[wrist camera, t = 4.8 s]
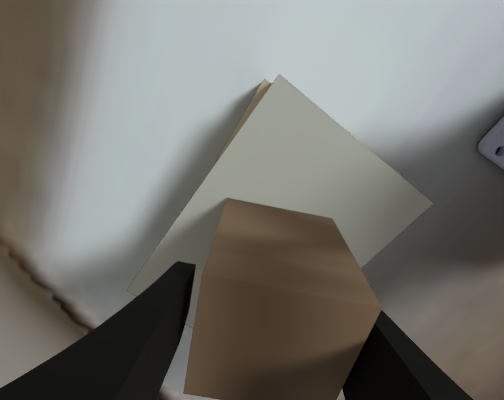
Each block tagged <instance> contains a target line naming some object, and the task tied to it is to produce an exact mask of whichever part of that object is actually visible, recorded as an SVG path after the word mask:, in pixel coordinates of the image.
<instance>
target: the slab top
mask: <svg viewBox="0 0 504 400" xmlns="http://www.w3.org/2000/svg"><path fill="white" fill-rule="evenodd" d="M227 198H231V199H237V200H242V201H247V202H252V203H257V204H262V205H267V206H272V207H277V208H282V209H287V210H292V211H297V212H302V213H308V214H313V215H318V216H323V217H328V218H332V219H333V220H334V222H335V224H336V226H337V228H338V229H339V231H340V233H341V235H342V236H343V238H344V240H345V242H346V244H347V245H348V247H349V249H350V251H351V252H352V254H353V256H354V258H355V260H356V261H357V263H358V265H359V267H360V268H362V267H363V266H364V265H365V264H367V263H368V262H369V261H370V260H371V259H372V258H373V257H374V256H375V255H377V254H378V253H379V252H380V251H381V250H382V249H383V248H384V247H385V246H387V245H388V244H389V243H390V242H391V241H392V240H393V239H394V238H395V237H397V236H398V235H399V234H400V233H401V232H402V231H403V230H404V229H405V228H407V227H408V226H409V225H410V224H411V223H412V222H413V221H414V220H415V219H417V218H418V217H419V216H420V215H421V214H422V213H423V212H424V211H425V210H427V209H428V208H429V207H430V206H431V205H432V204H433V203H432V202H431V201H430V200H429V199H427V198H426V197H425V196H424V195H423V194H422V193H420V192H419V191H418V190H417V189H416V188H414V187H413V186H412V185H411V184H410V183H408V182H407V181H406V180H405V179H404V178H403V177H401V176H400V175H399V174H398V173H397V172H395V171H394V170H393V169H392V168H391V167H389V166H388V165H387V164H386V163H385V162H384V161H382V160H381V159H380V158H379V157H378V156H376V155H375V154H374V153H373V152H372V151H370V150H369V149H368V148H367V147H366V146H364V145H363V144H362V143H361V142H360V141H359V140H357V139H356V138H355V137H354V136H353V135H351V134H350V133H349V132H348V131H347V130H345V129H344V128H343V127H342V126H341V125H340V124H338V123H337V122H336V121H335V120H334V119H332V118H331V117H330V116H329V115H328V114H326V113H325V112H324V111H323V110H322V109H321V108H319V107H318V106H317V105H316V104H315V103H313V102H312V101H311V100H310V99H309V98H307V97H306V96H305V95H304V94H303V93H302V92H300V91H299V90H298V89H297V88H296V87H294V86H293V85H292V84H291V83H290V82H288V81H287V80H286V79H285V78H284V77H283V76H281V75H280V74H279V75H278V76H277V78H276V79H275V80H274V82H273V83H272V85H271V86H270V88H269V89H268V90H267V92H266V93H265V95H264V96H263V97H262V99H261V100H260V102H259V103H258V104H257V106H256V107H255V109H254V110H253V112H252V113H251V114H250V116H249V117H248V119H247V120H246V121H245V123H244V124H243V126H242V127H241V128H240V130H239V131H238V133H237V134H236V136H235V137H234V138H233V140H232V141H231V143H230V144H229V145H228V147H227V148H226V150H225V151H224V153H223V154H222V155H221V157H220V158H219V160H218V161H217V162H216V164H215V165H214V167H213V168H212V169H211V171H210V172H209V174H208V175H207V177H206V178H205V179H204V181H203V182H202V184H201V185H200V186H199V188H198V189H197V191H196V192H195V193H194V195H193V196H192V198H191V199H190V201H189V202H188V203H187V205H186V206H185V208H184V209H183V210H182V212H181V213H180V215H179V216H178V217H177V219H176V220H175V222H174V223H173V225H172V226H171V227H170V229H169V230H168V232H167V233H166V234H165V236H164V237H163V239H162V240H161V241H160V243H159V244H158V246H157V247H156V249H155V250H154V251H153V253H152V254H151V256H150V257H149V258H148V260H147V261H146V263H145V264H144V266H143V267H142V268H141V270H140V271H139V273H138V274H137V276H136V277H135V278H134V280H133V281H132V283H131V284H130V286H129V287H128V288H127V290H126V291H128V292H130V293H131V294H133V295H135V296H138V295H140V294H141V293H142V292H143V291H144V290H145V289H147V288H148V287H149V286H150V285H151V284H152V283H154V282H155V281H156V280H157V279H158V278H159V277H160V276H161V275H162V274H163V273H165V272H166V271H167V270H168V269H169V268H170V267H171V266H172V265H173V264H174V263H175V262H177V261H181V262H186V263H191V264H196V268H195V275H194V281H193V288H192V295H191V301H190V308H189V313H188V316H187V319H186V323H185V324H187V325H189V326H190V327H192V328H193V327H194V321H195V314H196V308H197V301H198V295H199V288H200V282H201V275H202V272H203V269H204V266H205V263H206V260H207V257H208V254H209V251H210V248H211V245H212V242H213V239H214V236H215V233H216V230H217V227H218V224H219V221H220V218H221V215H222V212H223V209H224V206H225V203H226V200H227Z"/></svg>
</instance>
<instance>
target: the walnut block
mask: <svg viewBox="0 0 504 400" xmlns="http://www.w3.org/2000/svg"><path fill="white" fill-rule="evenodd" d="M381 309H382V306H381V304H380V302H379V300H378V299H377V297H376V295H375V293H374V291H373V290H372V288H371V286H370V284H369V283H368V281H367V279H366V277H365V275H364V274H363V272H362V270H361V268H360V267H359V265H358V263H357V261H356V260H355V258H354V256H353V254H352V252H351V251H350V249H349V247H348V245H347V244H346V242H345V240H344V238H343V236H342V235H341V233H340V231H339V229H338V228H337V226H336V224H335V222H334V220H333V219H332V218H328V217H323V216H318V215H313V214H308V213H302V212H297V211H292V210H287V209H282V208H277V207H272V206H267V205H262V204H257V203H252V202H247V201H242V200H237V199H231V198H227V200H226V203H225V206H224V209H223V212H222V215H221V218H220V221H219V224H218V227H217V230H216V233H215V236H214V239H213V242H212V245H211V248H210V251H209V254H208V257H207V260H206V263H205V266H204V269H203V272H202V275H201V282H200V288H199V295H198V301H197V308H196V314H195V321H194V327H193V334H192V340H191V347H190V353H189V360H188V366H187V373H186V379H185V386H184V392H183V393H184V394H190V395H196V396H202V397H208V398H214V399H220V400H336V399H337V397H338V395H339V393H340V391H341V389H342V387H343V385H344V383H345V381H346V379H347V377H348V375H349V373H350V371H351V369H352V367H353V365H354V363H355V361H356V359H357V357H358V355H359V353H360V351H361V349H362V347H363V345H364V343H365V341H366V339H367V337H368V335H369V333H370V331H371V329H372V327H373V325H374V323H375V321H376V319H377V317H378V315H379V313H380V311H381Z"/></svg>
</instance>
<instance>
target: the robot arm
mask: <svg viewBox="0 0 504 400" xmlns="http://www.w3.org/2000/svg"><path fill="white" fill-rule="evenodd" d="M499 147H500V151H499V152H498V153H497V154H495V151H496V150H497V148H499ZM478 150H479V152H480V153H481V154H483V155H484V156H485V157H487V158H488V159H489V160H491V161H492V162H493V163H495V164H496V165H498V166H499V167H500V168H502V169H503V170H504V116H503V117H502V119H501V120H500V121H499V122H498V123H497V124H496V125H495V126H494V127H493V128H492V129H491V130H490V131H489V132H488V133H487V134H486V136H485V137H484V138H483V139H482V140H481V141H480V143H479V145H478ZM195 268H196V264H191V263H186V262H181V261H177V262H175V263H174V264H173V265H172V266H171V267H170V268H169V269H168V270H167V271H166V272H165V273H163V274H162V275H161V276H160V277H159V278H158V279H157V280H156V281H155V282H154V283H152V284H151V285H150V286H149V287H148V288H147V289H145V290H144V291H143V292H142V293H141V294H140V295H138V296H137V297H136V298H135V299H134V300H132V301H131V302H130V303H129V304H127V305H126V306H125V307H124V308H122V309H121V310H120V311H118V312H117V313H116V314H114V315H113V316H112V317H110V318H109V319H108V320H106V321H105V322H104V323H102V324H101V325H100V326H98V327H97V328H95V329H94V330H93V331H91V332H90V333H88V334H87V335H86V336H84V337H83V338H81V339H80V340H78V341H77V342H75V343H74V344H72V345H71V346H69V347H68V348H66V349H65V350H63V351H62V352H60V353H58V354H57V355H55V356H54V357H52V358H50V359H49V360H47V361H45V362H44V363H42V364H40V365H39V366H37V367H36V368H34V369H33V370H31V371H29V372H27V373H26V374H24V375H22V376H21V377H19V378H17V379H16V380H14V381H12V382H10V383H9V384H7V385H5V386H3V387H2V388H0V400H156V397H157V395H158V393H159V390H160V388H161V385H162V383H163V381H164V378H165V376H166V374H167V371H168V369H169V366H170V364H171V362H172V359H173V357H174V354H175V352H176V349H177V347H178V345H179V342H180V339H181V336H182V333H183V329H184V326H185V323H186V319H187V316H188V313H189V308H190V301H191V295H192V288H193V281H194V275H195ZM342 389H343V393H344V396H345V400H473V399H472V398H471V397H470V396H469V395H468V394H467V393H465V392H464V391H463V390H462V389H461V388H460V387H459V386H458V385H457V384H456V383H455V382H454V381H453V380H452V379H450V378H449V377H448V376H447V375H446V374H445V373H444V372H443V371H442V370H441V369H440V368H439V367H438V366H437V365H436V364H435V363H434V362H433V361H432V360H431V359H430V358H429V357H428V356H427V355H426V354H425V353H424V352H423V351H422V350H421V349H420V348H419V347H418V346H417V345H416V344H415V343H414V342H413V341H412V340H411V339H410V338H409V337H408V336H407V335H406V334H405V333H404V332H403V331H402V330H401V329H400V328H399V327H398V326H397V325H396V324H395V323H394V322H393V321H392V320H391V319H390V318H389V317H388V316H387V315H386V314H385V313H384V312H383V311H382V310H381V311H380V313H379V315H378V317H377V319H376V321H375V323H374V325H373V327H372V329H371V331H370V333H369V335H368V337H367V339H366V341H365V343H364V345H363V347H362V349H361V351H360V353H359V355H358V357H357V359H356V361H355V363H354V365H353V367H352V369H351V371H350V373H349V375H348V377H347V379H346V381H345V383H344V385H343V387H342Z"/></svg>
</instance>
